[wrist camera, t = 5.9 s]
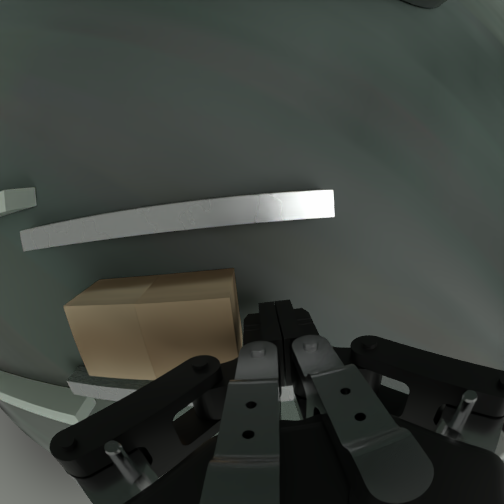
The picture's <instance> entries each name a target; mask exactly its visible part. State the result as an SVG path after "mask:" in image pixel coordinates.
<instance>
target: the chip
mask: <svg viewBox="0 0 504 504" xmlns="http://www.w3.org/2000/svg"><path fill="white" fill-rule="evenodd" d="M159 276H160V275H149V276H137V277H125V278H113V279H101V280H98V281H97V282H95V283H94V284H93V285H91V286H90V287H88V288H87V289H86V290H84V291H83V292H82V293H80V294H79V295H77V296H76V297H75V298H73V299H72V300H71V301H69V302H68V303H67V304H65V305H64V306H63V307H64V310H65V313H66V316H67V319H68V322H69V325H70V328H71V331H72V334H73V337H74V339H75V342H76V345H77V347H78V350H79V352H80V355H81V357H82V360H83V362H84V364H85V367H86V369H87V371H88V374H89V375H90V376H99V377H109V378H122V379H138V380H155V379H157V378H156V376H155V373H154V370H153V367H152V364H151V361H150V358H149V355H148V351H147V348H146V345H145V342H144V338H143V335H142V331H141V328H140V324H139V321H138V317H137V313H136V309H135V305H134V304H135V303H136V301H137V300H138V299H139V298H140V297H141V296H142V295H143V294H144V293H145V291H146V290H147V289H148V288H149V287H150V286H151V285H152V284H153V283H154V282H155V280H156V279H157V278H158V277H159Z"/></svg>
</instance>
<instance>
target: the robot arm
mask: <svg viewBox="0 0 504 504" xmlns="http://www.w3.org/2000/svg"><path fill="white" fill-rule="evenodd" d="M403 1H406V2H408V3H411V4H413V5H417V6H420V7H424V8H436V7H439V6H440V5H441V4H443V3H444V2H445V1H447V0H403ZM258 304H259V313H255V314H248V315H247V316H246V317H245V319H244V333H243V347H242V348H241V349H240V351H239V356H238V357H237V358H235V359H234V360H231V361H228V362H225V363H221V364H220V361H219V360H218V359H217V358H216V357H214V356H210V355H199V356H195V357H192V358H190V359H188V360H186V361H185V362H183V363H182V364H180V365H178V366H177V367H175V368H173V369H172V370H170V371H169V372H167V373H165V374H164V375H162V376H160V377H159V378H157V379H155V380H154V381H152V382H150V383H148V384H147V385H145V386H143V387H142V388H140V389H138V390H136V391H135V392H133V393H131V394H129V395H128V396H126V397H124V398H122V399H121V400H119V401H117V402H115V403H113V404H112V405H110V406H108V407H106V408H104V409H102V410H101V411H99V412H97V413H95V414H93V415H91V416H89V417H87V418H86V419H84V420H82V421H80V422H78V423H76V424H74V425H72V426H70V427H68V428H66V429H64V430H62V431H60V432H58V433H57V434H56V435H55V436H54V437H53V438H52V440H51V443H50V451H51V453H52V455H53V456H54V457H55V458H56V459H57V461H58V462H59V463H60V464H61V465H62V466H63V467H64V469H65V471H66V472H67V473H68V474H69V475H70V477H71V478H72V479H73V480H75V482H76V483H77V484H78V485H79V486H80V487H81V488H82V489H83V491H84V492H85V493H86V495H87V496H88V498H89V499H90V500H91V502H92V503H93V504H504V462H503V460H502V459H501V458H500V457H499V456H498V455H496V454H495V451H496V448H497V445H498V441H499V438H500V434H501V430H502V426H503V422H504V371H502V370H498V369H494V368H489V367H485V366H481V365H477V364H473V363H469V362H465V361H461V360H458V359H454V358H450V357H446V356H442V355H439V354H435V353H432V352H428V351H424V350H421V349H417V348H414V347H410V346H407V345H404V344H400V343H397V342H393V341H390V340H387V339H383V338H380V337H377V336H370V335H369V336H361V337H358V338H356V339H354V340H353V341H352V343H351V348H339V347H332V346H331V345H330V343H329V341H328V340H327V339H326V338H324V337H322V336H319V333H318V331H317V329H316V327H315V325H314V323H313V321H312V319H311V316H310V314H309V312H307V311H306V310H304V309H303V308H299V309H293V307H292V304H291V301H290V300H282V301H275V305H274V302H264V303H258ZM382 375H384V376H386V377H389V378H392V379H395V380H398V381H401V382H403V383H405V384H406V385H407V386H408V387H409V390H410V393H409V395H408V394H405V393H402V392H400V391H397V390H394V389H391V388H389V387H386V386H383V385H381V380H382ZM284 376H285V378H284ZM285 381H286V386H291V385H293V394H294V402H295V405H296V408H297V411H298V414H299V417H300V420H299V421H292V420H281V398H280V397H281V394H282V388H281V387H284V386H285ZM192 402H193V405H194V407H193V408H191V409H190V410H189V411H187V412H186V413H185V414H183V415H182V416H180V417H179V418H177V419H176V420H175V421H173V418H174V416H175V415H176V414H177V413H178V412H179V411H181V410H182V409H183V408H185V407H186V406H188V405H189V404H190V403H192ZM218 432H219V433H218ZM216 433H218V435H216V436H214V435H215V434H216ZM213 436H214V437H213ZM170 469H171V470H170ZM166 472H167V473H166ZM165 473H166V474H165ZM163 474H164V475H163ZM162 475H163V476H162ZM161 476H162V477H161ZM159 477H160V478H159ZM158 478H159V479H158Z"/></svg>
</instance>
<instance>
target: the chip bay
mask: <svg viewBox="0 0 504 504" xmlns="http://www.w3.org/2000/svg"><path fill="white" fill-rule="evenodd" d="M34 206H37V203H36V193H35V187H31V188H20V189H9V190H3V191H0V217H1V216H4V215H8V214H11V213H14V212H17V211H20V210H24V209H27V208H31V207H34ZM0 400H2V401H4V402H7V403H9V404H12V405H14V406H17V407H19V408H22V409H24V410H27V411H30V412H33V413H35V414H38V415H41V416H44V417H47V418H51V419H54V420H57V421H61V422H64V423H68V424H71V425H74V424H76V423H78V422H80V421H82V420H84V419H86V418H87V417H88V416H89V414H90V413H91V411H92V409H93V408H94V406H95V404H96V401H95V399H94V398H92V397H86V396H80V395H75V394H73V393H72V391H71V389H70V388H67V387H62V386H57V385H53V384H48V383H44V382H40V381H36V380H32V379H28V378H24V377H21V376H17V375H14V374H10V373H7V372H4V371H1V370H0Z"/></svg>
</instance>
